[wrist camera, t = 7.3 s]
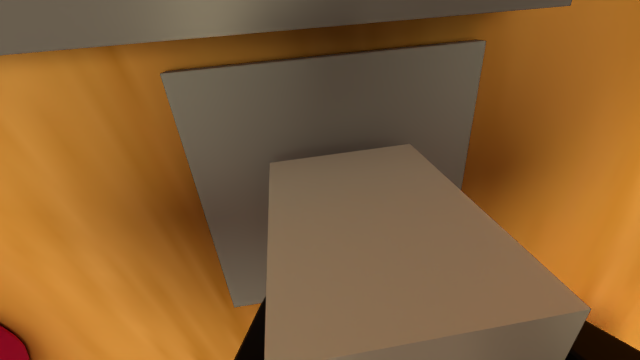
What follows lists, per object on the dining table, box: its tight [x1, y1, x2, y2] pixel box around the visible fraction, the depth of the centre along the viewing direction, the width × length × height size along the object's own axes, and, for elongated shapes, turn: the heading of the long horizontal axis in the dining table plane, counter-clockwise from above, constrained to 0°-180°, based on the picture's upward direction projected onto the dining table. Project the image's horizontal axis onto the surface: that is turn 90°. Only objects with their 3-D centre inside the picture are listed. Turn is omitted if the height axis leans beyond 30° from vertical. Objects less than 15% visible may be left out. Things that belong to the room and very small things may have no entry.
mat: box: [160, 40, 486, 307], centre depth 13 cm, size 11×11×1 cm
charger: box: [264, 144, 591, 360], centre depth 9 cm, size 5×5×7 cm
